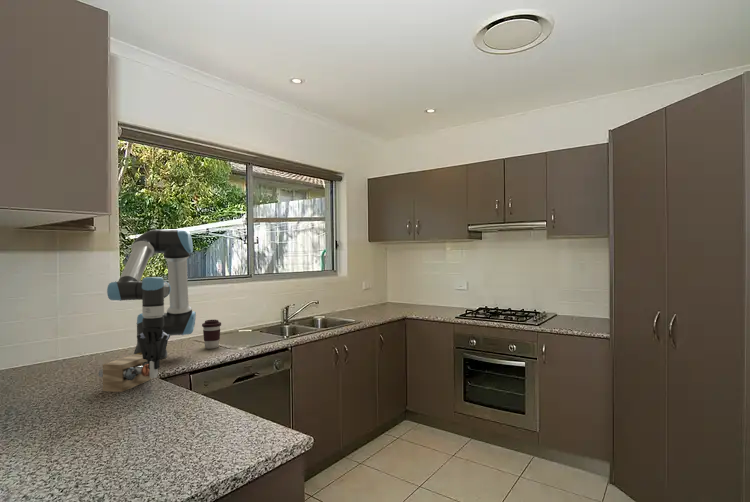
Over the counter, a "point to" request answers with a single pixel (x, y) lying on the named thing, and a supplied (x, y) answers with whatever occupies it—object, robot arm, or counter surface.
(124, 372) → the plug
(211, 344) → the coffee cup
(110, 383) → the block
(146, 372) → the plug rust
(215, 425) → the counter surface
